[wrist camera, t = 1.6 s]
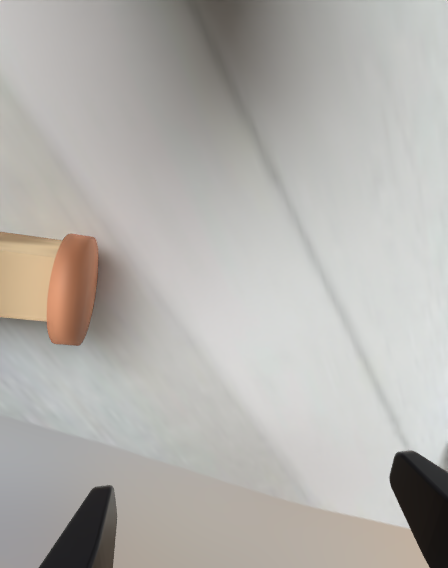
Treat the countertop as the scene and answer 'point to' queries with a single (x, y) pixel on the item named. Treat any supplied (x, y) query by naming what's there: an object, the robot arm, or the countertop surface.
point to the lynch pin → (49, 282)
